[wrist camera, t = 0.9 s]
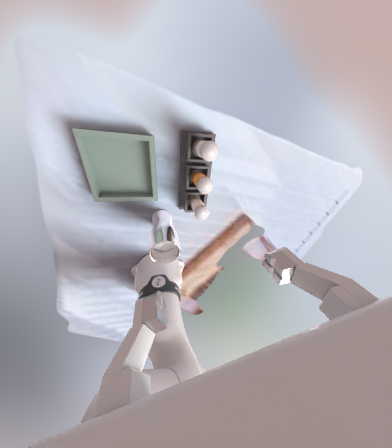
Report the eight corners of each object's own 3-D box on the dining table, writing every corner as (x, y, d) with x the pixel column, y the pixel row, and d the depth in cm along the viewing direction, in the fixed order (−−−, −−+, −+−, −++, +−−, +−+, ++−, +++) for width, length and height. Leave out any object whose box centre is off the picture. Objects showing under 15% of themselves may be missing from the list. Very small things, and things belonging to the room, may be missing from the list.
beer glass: (155, 231, 44) (155, 268, 31) (146, 212, 40) (142, 247, 28) (176, 224, 44) (185, 258, 32) (169, 205, 40) (175, 235, 28)
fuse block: (204, 207, 44) (208, 212, 41) (179, 207, 42) (180, 213, 39) (214, 134, 34) (219, 134, 31) (181, 130, 32) (183, 130, 29)
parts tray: (157, 196, 38) (157, 200, 36) (98, 196, 35) (94, 201, 32) (153, 136, 31) (153, 136, 28) (79, 128, 27) (71, 128, 25)
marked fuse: (201, 182, 38) (212, 194, 31) (188, 182, 37) (197, 194, 30) (202, 169, 36) (214, 178, 29) (189, 168, 35) (198, 177, 28)
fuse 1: (203, 156, 35) (217, 162, 27) (190, 155, 34) (200, 160, 26) (205, 140, 33) (220, 141, 26) (191, 138, 32) (202, 140, 25)
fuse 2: (198, 204, 41) (208, 219, 34) (187, 204, 41) (194, 220, 33) (200, 193, 40) (210, 207, 32) (188, 193, 39) (196, 207, 31)
